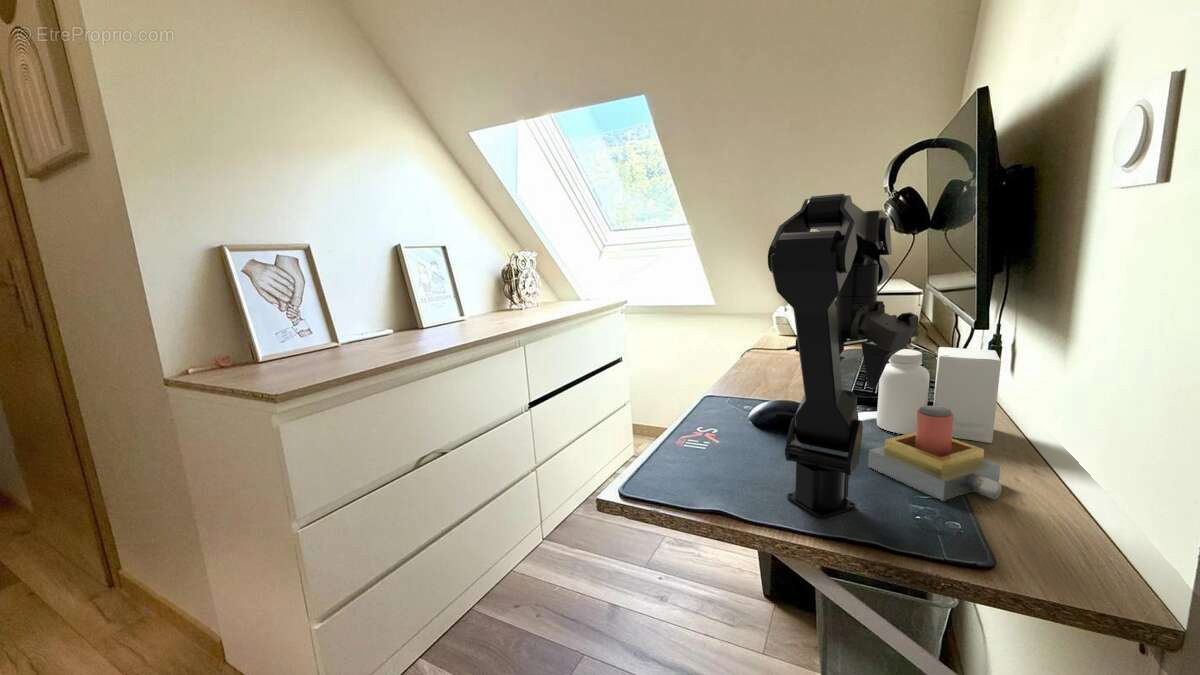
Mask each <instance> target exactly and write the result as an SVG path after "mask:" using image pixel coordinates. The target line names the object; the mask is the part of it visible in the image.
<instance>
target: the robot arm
mask: <svg viewBox="0 0 1200 675" xmlns="http://www.w3.org/2000/svg"><path fill="white" fill-rule="evenodd" d="M890 222H891V220H890V217H889V216H888V217H886V213H885V212H884V210H882V209H877V210H863V209H861V208H860V207H859V206H858V205H856V203H854V202H853V200H852V196H851V195H850V194H849V195H846V194H844V193H833V194H825V195H812V196H811V197H810V198H806V199H805V200H804V201H803V203H802V205H801V208H800V209H799V210H798V211H797V212H795V213H794V214H793V215H792V216H791V217H789V218H788V219H786V220H785V221H784V222H783V223H780V225H779V226H778V228H777V230H776V232H775V235H774V237H773V239H772V241H771V243H770V244H769V248H768V252H767V265H768V266H767V267H768V270H769V272H770V273H772V277H773V282H774V285H775V290H776V292H777V294H778V295H779V296H780V297H782V298H783V300H785V301H786V303H787V304H788V305H789V306H790V307H791V308H792V309H793V315H794V322H795V323H794V324H795V330H796V338H795V352H797V353H799V360H800V368H801V369H800V370H801V375H802V376H801V377H802V385H803V393H804V395H803V397H802V400H801V402H800V403H799V406H798V408H797V410H796V411H795V413H794V416H793V418H792V419H791V421H790V424H789V429H788V432H787V437H786V443H785V447H784V456H785V461H787V462H794V463H795V489H794V491H793V492H789V493H787V494H786V498H787V499H788V500H789V501H791V502H793V503H794V504H796V505H797V506H799V507H800V508H802V509H804V510H806V512H809V513H811V514H812V515H814V516H815V517H817V518H819V519H825V518H829V517H831V516H835V515H838V514H841V513H844V512H848V511H851V510H854V509H856V503H855V502H854V501H851V500H850V499H848V496H849V476H852V475H853V473H854V472H855V470H856V468H857V467H858V465H859V463H860V457H861V456H860V455H861V448H862V439H863V433H864V432H863V430H864V426H863V425H864V424H863V420H861V419H859V411H858V402H857V401H858V397H857V394H855V391H853V390H845V389H843V383H842V371H841V369H842V368H841V362H842V361H843V360H844V359H845V356H842V355H841V354H842V353H843V352H844V350H845V347H849V346H855V345H861V349H862V356H863V357H862V358H863V363H864V368H865V369H864V371H865V376H866V382H867V385H868V387H869V388H873V389H875V388H877V386H878V385H879V380H880V377H881V375H882V373H883V371H884V368H885V366H886V364H888V363H889V359H890V357H891V356H892V355H893V354H895V353H896V352H898V351H900V350H903V349H906V348H907V347H908V345H911V344H912V338H916V337H918V336H919V327H920V326H919V315H917V314H915V313H913V312H911V311H910V312H903V313H901V314H899V315H898V316H897V315H896V314H893V315H890V314H889V313H887V312H886V310H885V308H886V305H885V303H884V301H882V300H878V287H879V286H882V285H883V284H884V283H885V282H886V281H887V280H888V278H889V276H890V272H891V271H890V270H891V269H890V266H889V262H887V260H886V259H885V258H884V257H882V256H890V255H892V253H893V252H892V251H893V250H892V236H891V223H890ZM811 230H816V231H811ZM801 444H803V445H808V446H813V447H818V448H823V449H827V450H833V451H837V452H842V453H847V455H844V454H840V453H839V454H838V453H834V452H831V451H830V452H829V451H824V450H820V449H817V448H816V449H815V448H811V447H806V446H802V445H801Z"/></svg>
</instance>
